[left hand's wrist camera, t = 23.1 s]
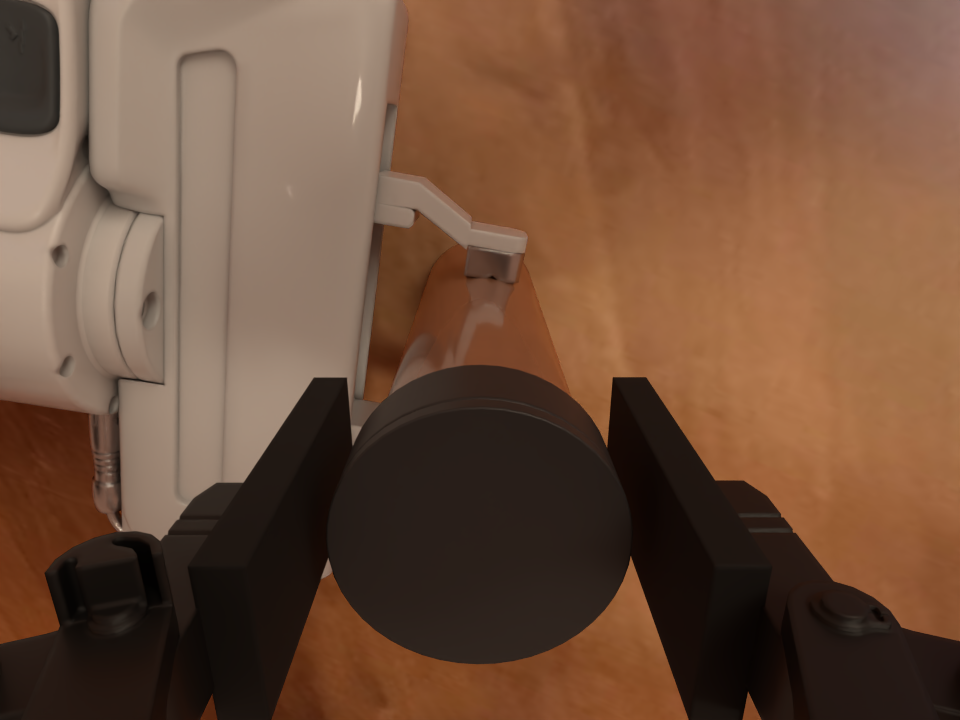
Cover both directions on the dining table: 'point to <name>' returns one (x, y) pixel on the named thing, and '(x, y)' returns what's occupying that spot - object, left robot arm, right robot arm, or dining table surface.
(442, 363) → the jar
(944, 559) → the dining table surface
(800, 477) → the dining table surface
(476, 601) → the lid
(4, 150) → the right robot arm
